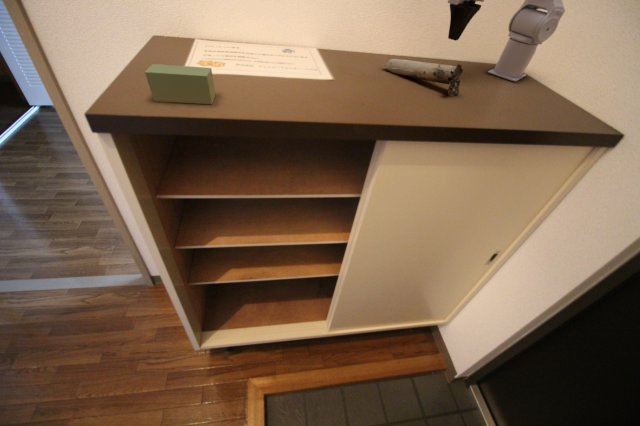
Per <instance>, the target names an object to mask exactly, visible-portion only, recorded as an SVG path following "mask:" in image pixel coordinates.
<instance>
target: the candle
mask: <svg viewBox="0 0 640 426" xmlns="http://www.w3.org/2000/svg"><path fill="white" fill-rule="evenodd" d="M382 68H383V69H385V70H387V71H389V72H391V73H393V74H397V75H402V76H407V77H408V78H411V79H415V80H420V81H425V82H432V83H439V84H445V85H449V86H448V89H447V90H448V91H447V92H448V93H447V95H448V96H450V97H454V96H455V97H456V96H458V95H459V93H460V88H459V87H460V85H461V80H459V79H460V77H461V74H463V72H464V70H463V68H462V64H459V63H458V64H457V65H450V64H443V63H434V62H427V61H418V60H410V59H401V58H400V59H399V58H390V59H389V60H387V61H386V63H384V64H383V65H382Z"/></svg>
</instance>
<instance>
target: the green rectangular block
mask: <svg viewBox="0 0 640 426" xmlns="http://www.w3.org/2000/svg"><path fill="white" fill-rule="evenodd" d="M144 74H145V78H146V80H147V81H146V82H147V84H148V87H149V90H150V93H151V97H152V99H153V102H161V103H162V102H164V103H179V104H180V103H181V104H201V105H202V104H203V105H212V104H213V103H214V100H215V98H216V89H215V83H214V76H213V71H212V68H211V67H200V66H189V65H173V64H161V63H160V64H159V63H152V64H151V65H150V66H149V67H148V68H147V69H146V70H145V71H144Z"/></svg>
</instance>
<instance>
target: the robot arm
mask: <svg viewBox="0 0 640 426" xmlns="http://www.w3.org/2000/svg"><path fill="white" fill-rule="evenodd" d="M477 2H481V3H483V2H485V0H447V3H448V4H449V11H450V13H449V14H450V21H449V29H448V35H447V39H449V40H452V41H459V39H460V38H461V36H462V34H463V33H464V31H465V30H466V28H467V26H468V25H469V24H470V22H471V20H472V19H473V18H474V17H475V16H476V14H477V13H478V12H479V11H480V9H481V8H482V5H481V4H478V3H477ZM565 12H566V9H565V5H564V1H563V0H524V1H523V2H522V5H521V6H520V7H519V8H518V10H517V11H516V12H515V13H514V14H513V15H512V17H511V18H510V20H509V22H508V26H507V27H508V30H507V31H508V35H507V36H508V40H507V42H506V44H505V46H504V48H503V50H502V52H501V54H500V56H499V58H498V60H497V62H496V63H495V66H494V68H491V69H490V70H488V71H487V73H488V74H490V75H493V76H497V77H499V78H502V79H505V80H508V81H511V82H514V83H517V82H518V81H519V80H521V79H523V78H525V77H526V76H527V73H525V71H526V69H527V68H528V66H529V64H530V62H531V60H532V59H533V57H534V56H535V54H536V51H537V48H538V46H539V45H542V44H543V43H544V42H546V41H547V40H548V39H550V37H551V36H553V34H554V33H555V32H556V30H557V28H558V25H559V22H560V21H561V19H562V17H563V15H564V14H565Z"/></svg>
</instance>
